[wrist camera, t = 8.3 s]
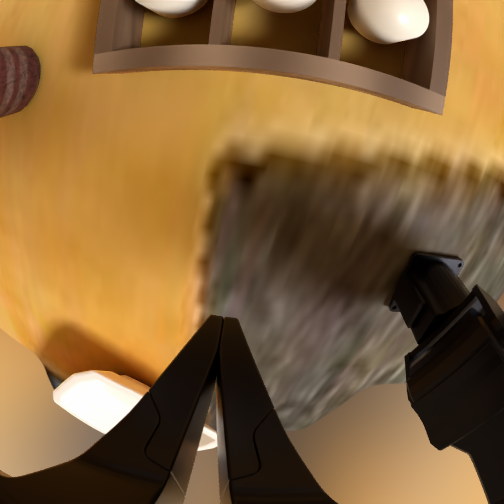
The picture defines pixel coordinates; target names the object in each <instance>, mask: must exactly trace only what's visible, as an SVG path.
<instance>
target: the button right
mask: <svg viewBox="0 0 504 504" xmlns="http://www.w3.org/2000/svg"><path fill="white" fill-rule="evenodd" d="M347 12H348V17H349V19H350V22H351V23H352V25H353V26H354V28H355V29H356V30H357V31H358V32H359V33H360V34H361V35H362V36H364V37H365V38H367V39H368V40H370V41H372V42H375V43H379V44H392V43H396V42H400V41H404V40H408V39H413V38H417V37H419V36H421V35H422V34H423V33H424V32H425V31H426V29H427V27H428V24H429V13H428V9H427V7H426V4H425V2H424V1H423V0H349V2H348V6H347Z"/></svg>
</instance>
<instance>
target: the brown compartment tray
mask: <svg viewBox="0 0 504 504" xmlns="http://www.w3.org/2000/svg"><path fill="white" fill-rule="evenodd" d="M423 1H424V2H425V4H426V7H427V9H428V13H429V24H428V27H427V29H426V31H425V32H424V33H423V34H422V35H421V36H419V37H417V38H413V39H408V40H406V48H405V57H404V65H403V72H402V79H400V78H397V77H394V76H391V75H388V74H385V73H382V72H379V71H376V70H372V69H369V68H366V67H362V66H358V65H355V64H351V63H347V62H343V61H340V53H341V46H342V37H343V29H344V19H345V10H346V0H322V9H321V18H320V27H319V35H318V43H317V51H316V55H310V54H305V53H299V52H293V51H286V50H279V49H271V48H262V47H251V46H237V45H230V42H231V34H232V26H233V18H234V11H235V4H236V0H214V4H213V11H212V18H211V26H210V34H209V42H208V44H191V45H166V46H152V47H141V48H140V43H141V35H142V27H143V19H144V12H145V6H143V5H141V4H139V3H138V2H136V1H135V0H101V4H100V10H99V16H98V23H97V30H96V38H95V48H94V59H93V74H96V73H131V72H143V71H159V70H222V71H238V72H251V73H261V74H270V75H278V76H285V77H292V78H298V79H304V80H310V81H315V82H320V83H325V84H330V85H335V86H339V87H343V88H348V89H352V90H356V91H359V92H363V93H367V94H371V95H374V96H378V97H381V98H384V99H387V100H391V101H394V102H397V103H400V104H403V105H406V106H409V107H411V108H416V109H420V110H424V111H428V112H432V113H435V114H439V115H442V113H443V107H444V102H445V96H446V89H447V82H448V75H449V66H450V57H451V44H452V26H453V0H423Z"/></svg>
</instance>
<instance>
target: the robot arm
mask: <svg viewBox="0 0 504 504" xmlns="http://www.w3.org/2000/svg"><path fill="white" fill-rule="evenodd" d="M417 257H418V258H417ZM416 258H417V259H416ZM463 265H464V262H463V261H462V259H460V258H454V257H447V256H440V255H434V254H427V253H420V252H415V253H413V254H412V256H411V258H410V260H409V262H408V265H407V267H406V269H405V272H404V274H403V276H402V278H401V280H400V282H399V284H398V287H397V289H396V291H395V293H394V295H393V297H392V300H391V302H390V304H389V309H390V311H393V312H401V314H402V316H403V319H404V321H405V323H406V325H407V327H408V328H411V330H412V332H413V334H414V337H415V339H416V341H417V344H418V346H417V347H416V348H415V349H414V350H413V351H412V352H409V353H408V354H407V355H406V356H405V369H406V383H407V394H408V400H409V401H410V403H411V407H412V408H413V409H414V411H415V412H416V413H417V414H418V416H419V417H420V419H421V421H422V422H423V424H424V427H425V429H426V432H427V435H428V438H429V440H430V443H431V444H432V445H433V446H434V447H436V448H437V449H438V450H443V449H445V448H446V447H448V446H452V447H454V448H456V449H458V450H460V451H463V452H465V453H467V454H468V455H469V456H470V458H471V460H472V462H473V464H474V467H475V469H476V472H477V474H478V477H479V479H480V482H481V484H482V487H483V490H484V493H485V495H486V498H487V501H488V504H504V311H503V310H502V309H501V308H500V306H499V305H498V303H497V302H496V301H495V300H494V299H493V298H492V297H491V296H490V295H488V294H487V293H486V292H485V291H484V290H483V289H482V288H480V287H479V286H478V285H477V284H476V285H475V286H474V287H473V289H472V291H471V293H470V292H469V291H468V289H467V288H466V287H465V285H464V284H463V283H462V281H461V280H460V278H459V277H458V275H459V273H460V271H461V269H462V267H463ZM393 306H394V307H393ZM216 377H217V379H216ZM215 383H216V414H217V448H218V473H219V492H220V504H338V503H337V502H335V501H334V500H332V499H331V498H330V497H329V496H328V495H327V494H326V493H325V492H324V490H323V489H322V488H321V487H320V486H319V484H318V483H317V481H316V480H315V479H314V477H313V475H312V474H311V473H310V471H309V470H308V468H307V466H306V465H305V463H304V462H303V461H302V459H301V457H300V456H299V454H298V453H297V451H296V450H295V448H294V446H293V444H292V443H291V441H290V439H289V438H288V436H287V434H286V432H285V430H284V428H283V426H282V424H281V422H280V420H279V417H278V415H277V413H276V410H275V409H274V406H273V404H272V401H271V399H270V397H269V394H268V392H267V390H266V387H265V385H264V383H263V380H262V378H261V375H260V373H259V371H258V368H257V366H256V363H255V361H254V358H253V356H252V353H251V351H250V348H249V346H248V344H247V341H246V339H245V336H244V333H243V331H242V328H241V326H240V323H239V321H238V319H237V318H231V317H225V318H224V320H223V317H222V316H216V315H210V316H209V317H208V318H207V319H206V320H205V322H204V323H203V324H202V325H201V327H200V328H199V329H198V330H197V331H196V333H195V334H194V335H193V336H192V338H191V339H190V340H189V341H188V342H187V344H186V345H185V346H184V347H183V349H182V350H181V351H180V352H179V353H178V355H177V356H176V357H175V358H174V360H173V361H172V362H171V363H170V364H169V366H168V367H167V368H166V369H165V370H164V372H163V373H162V374H161V375H160V377H159V378H158V379H157V380H156V381H155V383H154V384H153V385H152V386H151V387H150V389H149V392H148V391H147V392H146V393H145V394H144V396H143V397H142V398H141V399H140V400H139V402H138V403H137V404H136V405H135V406H134V407H133V408H132V409H131V411H130V412H129V413H128V414H127V415H126V416H125V417H124V418H123V419H121V420H120V421H119V422H118V423H117V424H116V425H115V426H114V427H113V428H112V429H111V430H110V431H108V432H107V433H106V434H105V435H104V436H103V437H102V438H101V439H99V441H97V442H96V443H95V444H94V445H93V446H91V447H90V448H89V449H88V450H87V451H85V452H84V453H83V454H81V455H80V456H78V457H76V458H75V459H72V460H70V461H68V462H65V463H62V464H59V465H56V466H53V467H50V468H47V469H44V470H40V471H37V472H34V473H30V474H27V475H23V476H19V477H11V476H10V475H8V474H6V473H4V472H2V471H1V470H0V504H183V502H184V499H185V495H186V491H187V487H188V484H189V480H190V476H191V472H192V469H193V465H194V461H195V458H196V454H197V450H198V447H199V443H200V439H201V436H202V432H203V428H204V424H205V421H206V417H207V413H208V410H209V406H210V402H211V399H212V395H213V391H214V387H215Z"/></svg>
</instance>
